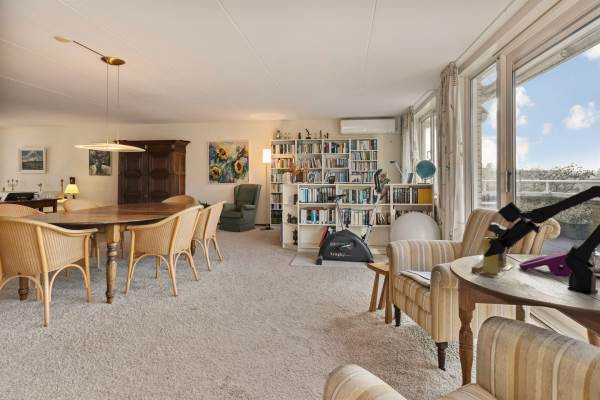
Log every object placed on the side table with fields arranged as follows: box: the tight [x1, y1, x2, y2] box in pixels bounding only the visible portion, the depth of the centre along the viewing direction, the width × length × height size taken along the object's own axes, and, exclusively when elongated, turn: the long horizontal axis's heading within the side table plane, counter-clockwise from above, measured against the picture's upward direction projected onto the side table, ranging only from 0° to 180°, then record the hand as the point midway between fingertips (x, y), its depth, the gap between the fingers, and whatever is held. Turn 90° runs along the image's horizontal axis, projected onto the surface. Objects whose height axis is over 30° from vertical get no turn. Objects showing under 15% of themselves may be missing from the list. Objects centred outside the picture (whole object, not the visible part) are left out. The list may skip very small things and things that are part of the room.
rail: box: [471, 251, 514, 279], centre depth 142 cm, size 11×24×9 cm, turn 134°
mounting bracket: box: [518, 249, 572, 278], centre depth 138 cm, size 9×8×18 cm
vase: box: [482, 237, 499, 274], centre depth 136 cm, size 6×6×14 cm
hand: (487, 254), depth 137 cm, fingers closed on vase, 5 cm apart
